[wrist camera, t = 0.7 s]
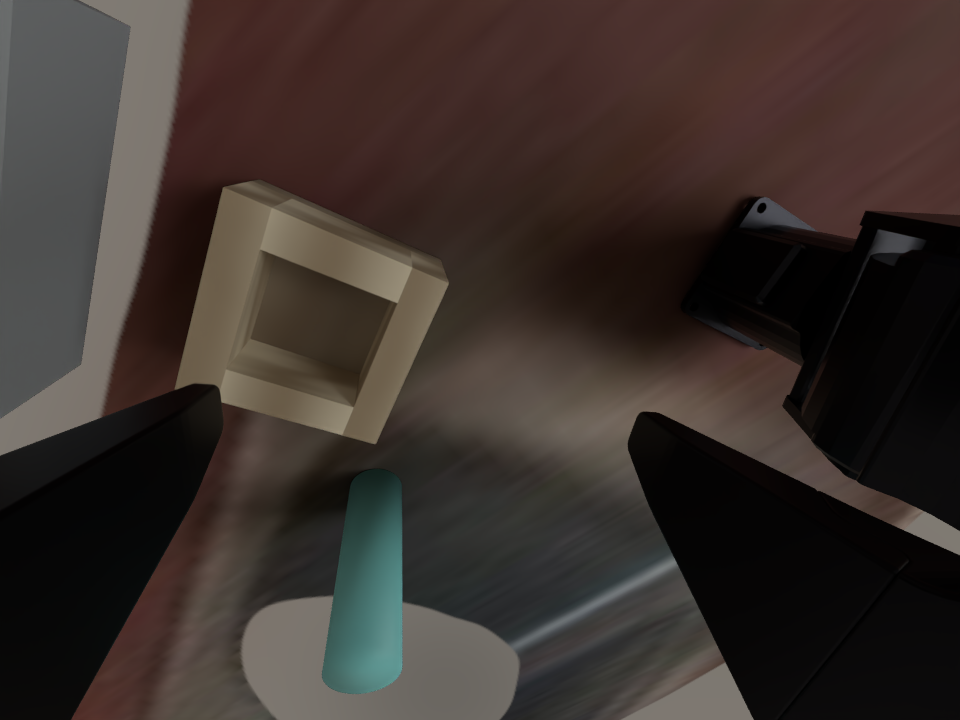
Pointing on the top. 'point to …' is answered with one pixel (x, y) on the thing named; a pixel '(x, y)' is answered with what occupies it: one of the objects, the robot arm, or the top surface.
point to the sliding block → (308, 312)
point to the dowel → (368, 589)
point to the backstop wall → (52, 181)
